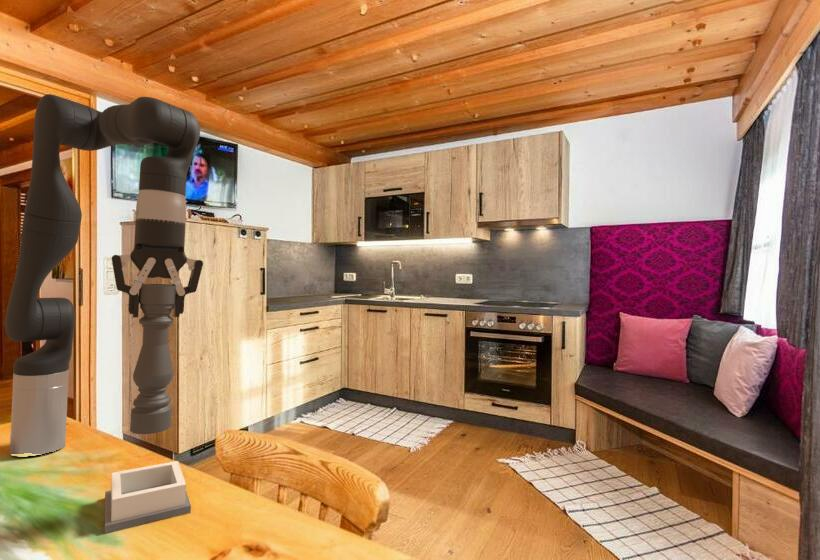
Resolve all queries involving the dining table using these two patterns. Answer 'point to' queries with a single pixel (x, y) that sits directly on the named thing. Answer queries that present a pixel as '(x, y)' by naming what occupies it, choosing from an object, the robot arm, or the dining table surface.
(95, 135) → the robot arm
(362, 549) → the dining table surface
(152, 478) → the socket dock
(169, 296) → the candle holder
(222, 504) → the dining table surface
